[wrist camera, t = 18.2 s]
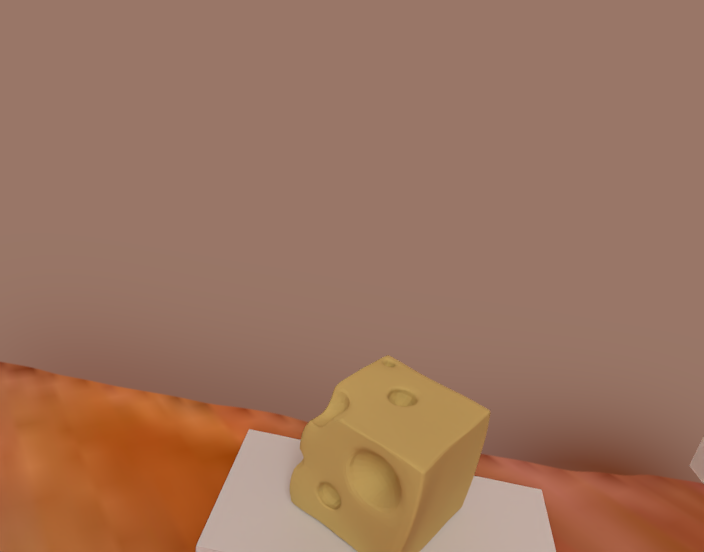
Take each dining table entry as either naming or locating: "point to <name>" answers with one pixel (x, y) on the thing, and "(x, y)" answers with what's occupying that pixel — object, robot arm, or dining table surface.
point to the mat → (326, 547)
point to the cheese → (389, 458)
